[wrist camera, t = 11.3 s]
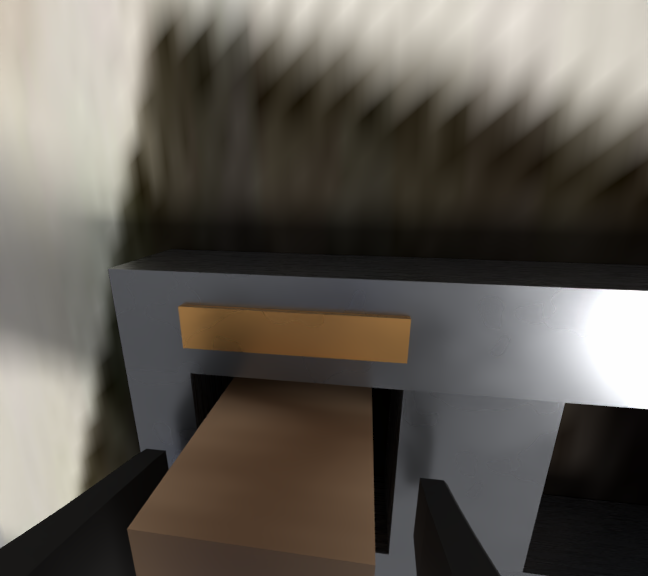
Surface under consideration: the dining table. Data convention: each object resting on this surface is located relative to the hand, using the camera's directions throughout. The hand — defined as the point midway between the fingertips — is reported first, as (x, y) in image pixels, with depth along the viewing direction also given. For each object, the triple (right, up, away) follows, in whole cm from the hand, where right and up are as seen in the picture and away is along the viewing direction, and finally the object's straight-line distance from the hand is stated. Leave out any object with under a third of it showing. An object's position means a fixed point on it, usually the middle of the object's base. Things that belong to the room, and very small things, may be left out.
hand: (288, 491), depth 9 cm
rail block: (+5, +1, +3) cm, 6 cm away
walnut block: (+1, +1, +4) cm, 4 cm away
